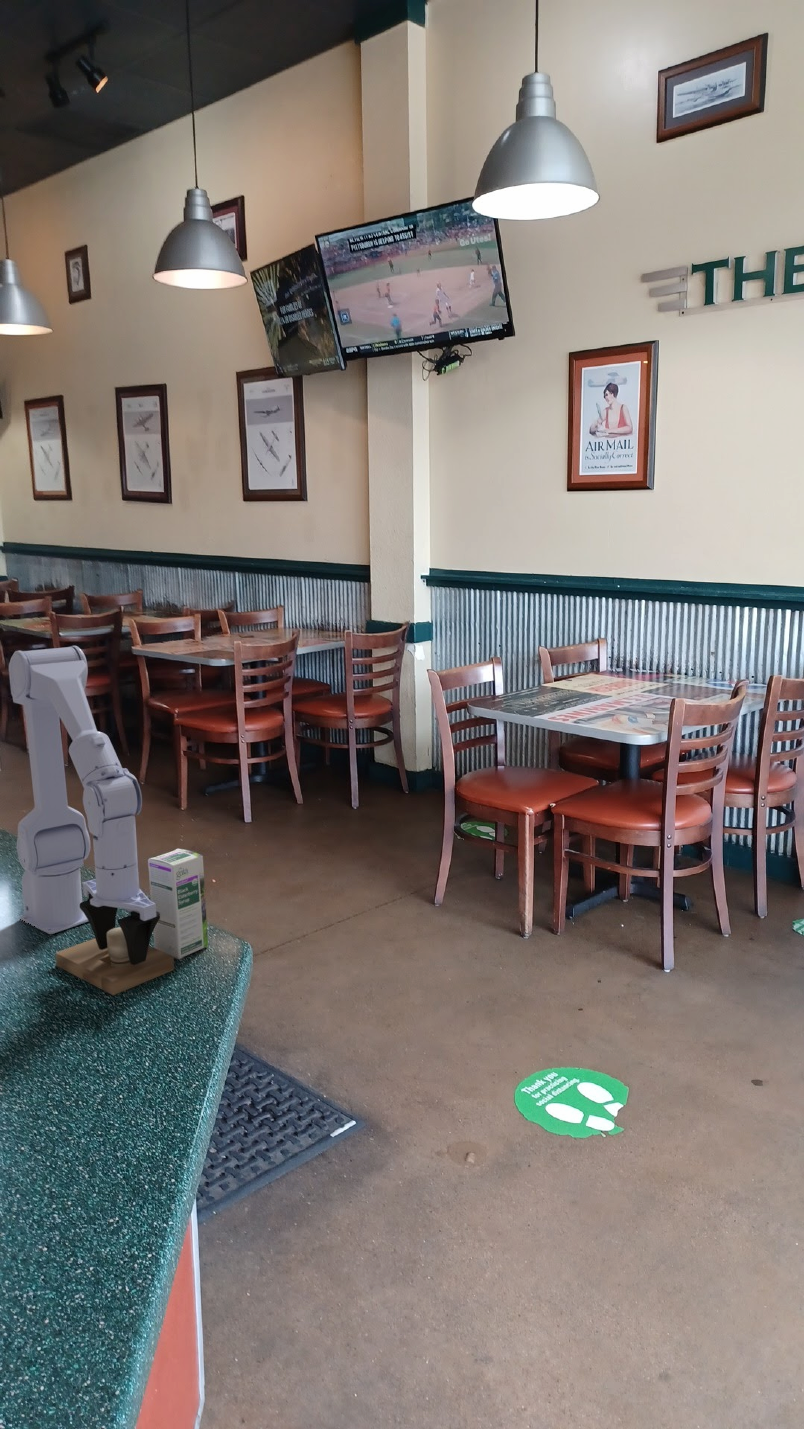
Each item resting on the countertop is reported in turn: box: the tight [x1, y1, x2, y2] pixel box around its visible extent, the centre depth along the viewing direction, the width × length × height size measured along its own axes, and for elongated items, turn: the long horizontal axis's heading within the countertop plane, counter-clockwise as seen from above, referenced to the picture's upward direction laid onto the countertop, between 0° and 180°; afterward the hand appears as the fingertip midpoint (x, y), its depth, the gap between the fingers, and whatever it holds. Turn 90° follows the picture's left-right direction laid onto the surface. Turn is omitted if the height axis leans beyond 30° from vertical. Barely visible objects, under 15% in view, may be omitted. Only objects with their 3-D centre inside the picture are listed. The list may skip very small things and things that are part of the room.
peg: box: [107, 926, 131, 969], centre depth 141 cm, size 4×4×6 cm
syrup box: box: [147, 848, 209, 960], centre depth 147 cm, size 6×6×14 cm
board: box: [55, 937, 175, 996], centre depth 143 cm, size 14×10×2 cm
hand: (122, 954), depth 141 cm, fingers open, 7 cm apart
